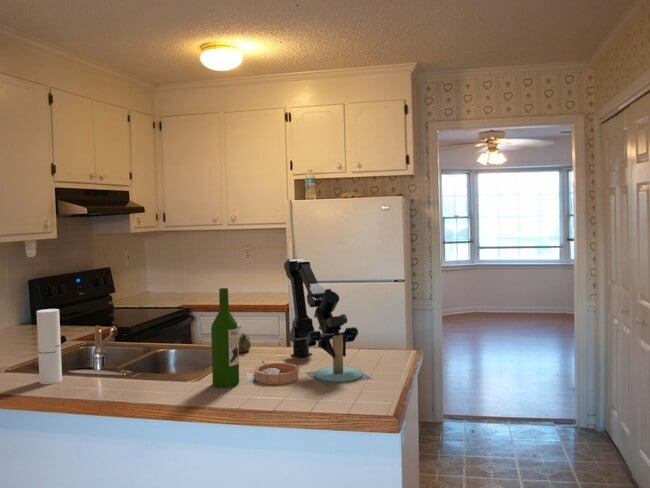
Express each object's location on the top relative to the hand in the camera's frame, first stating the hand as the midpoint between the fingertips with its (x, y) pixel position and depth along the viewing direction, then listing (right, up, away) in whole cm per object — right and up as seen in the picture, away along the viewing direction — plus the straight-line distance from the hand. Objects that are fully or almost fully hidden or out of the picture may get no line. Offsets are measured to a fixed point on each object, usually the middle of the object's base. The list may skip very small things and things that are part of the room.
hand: (339, 356), depth 205 cm
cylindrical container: (-101, -9, +2) cm, 102 cm away
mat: (0, -7, +2) cm, 7 cm away
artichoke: (-40, -6, +42) cm, 58 cm away
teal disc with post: (0, -7, +2) cm, 7 cm away
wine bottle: (-39, -8, -5) cm, 40 cm away
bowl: (-22, -8, 0) cm, 23 cm away
